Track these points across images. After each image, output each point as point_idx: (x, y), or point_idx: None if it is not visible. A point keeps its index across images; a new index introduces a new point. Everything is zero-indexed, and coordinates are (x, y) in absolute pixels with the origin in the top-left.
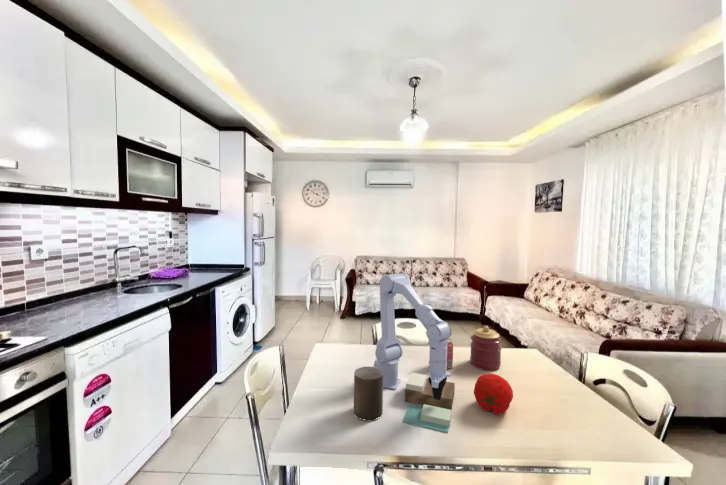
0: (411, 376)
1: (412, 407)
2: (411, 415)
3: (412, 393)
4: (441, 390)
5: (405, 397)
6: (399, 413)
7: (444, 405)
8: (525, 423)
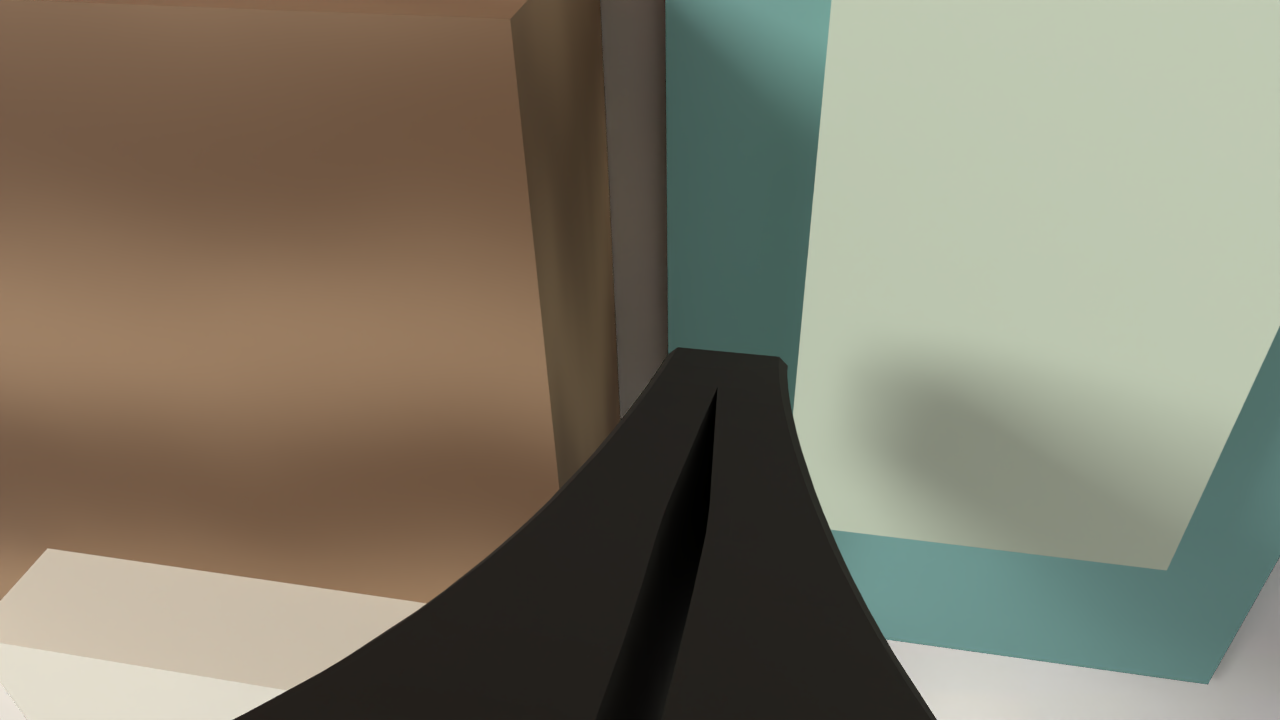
0: None
1: None
2: (1016, 592)
3: None
4: (858, 605)
5: None
6: (968, 696)
7: (582, 130)
8: None
